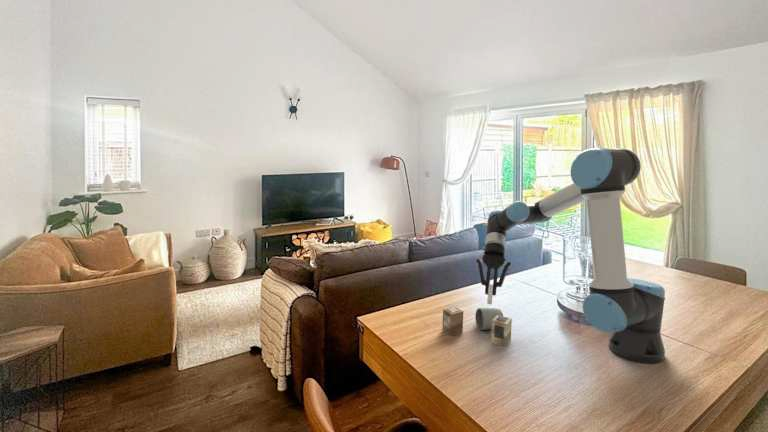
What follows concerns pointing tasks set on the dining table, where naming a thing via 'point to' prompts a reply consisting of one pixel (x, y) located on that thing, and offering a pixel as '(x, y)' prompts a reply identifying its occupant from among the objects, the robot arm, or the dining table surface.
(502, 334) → the beige framed block
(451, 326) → the walnut numeral block
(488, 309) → the ceramic mug
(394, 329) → the dining table surface
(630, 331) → the robot arm
